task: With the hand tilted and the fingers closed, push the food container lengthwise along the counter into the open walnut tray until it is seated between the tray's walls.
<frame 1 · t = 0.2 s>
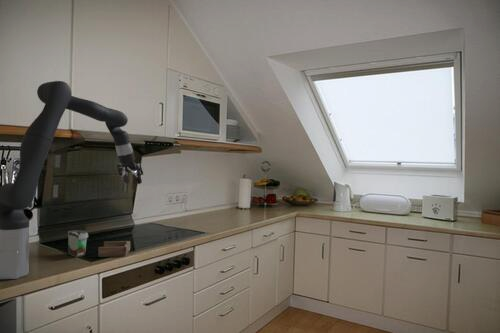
hand: (133, 183, 175), 31 cm above the worktop, tool tilted 20°, fingers open, 8 cm apart
food container: (80, 254, 155), on the worktop
walnut tray: (115, 252, 158), on the worktop
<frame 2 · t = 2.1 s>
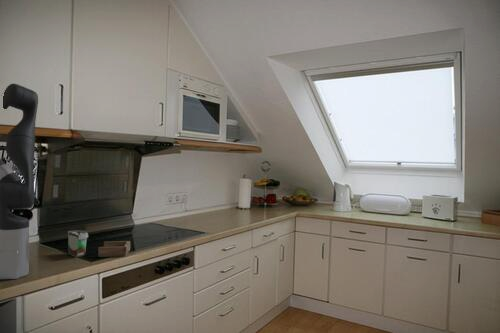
hand: (33, 205, 150), 22 cm above the worktop, tool tilted 45°, fingers open, 8 cm apart
nothing on the worktop moved.
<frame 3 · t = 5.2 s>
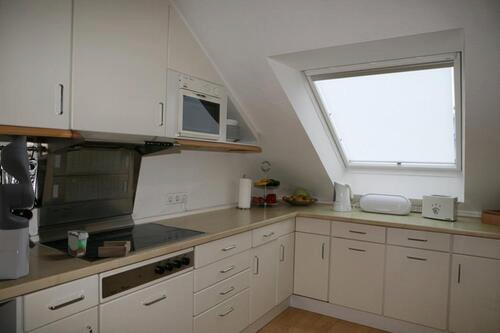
hand: (34, 246, 152), 4 cm above the worktop, tool tilted 45°, fingers closed
nothing on the worktop moved.
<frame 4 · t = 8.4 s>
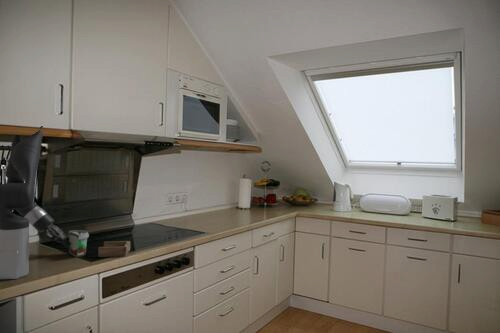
hand: (69, 246, 155), 4 cm above the worktop, tool tilted 45°, fingers closed
food container: (80, 254, 155), on the worktop, touching gripper
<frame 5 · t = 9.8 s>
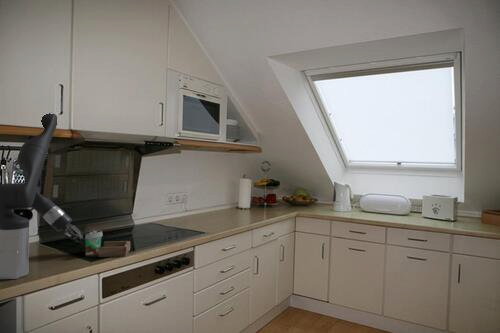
hand: (86, 245, 156), 4 cm above the worktop, tool tilted 45°, fingers closed
food container: (95, 253, 157), on the worktop, touching gripper
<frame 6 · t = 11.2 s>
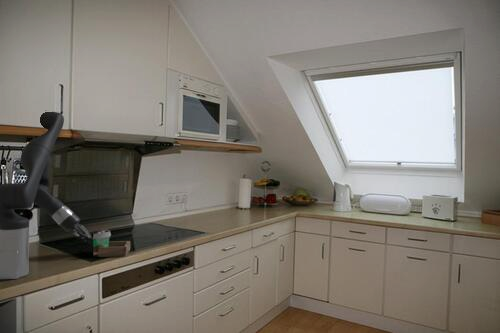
hand: (95, 245, 157), 4 cm above the worktop, tool tilted 45°, fingers closed
food container: (103, 253, 157), resting in walnut tray, touching gripper
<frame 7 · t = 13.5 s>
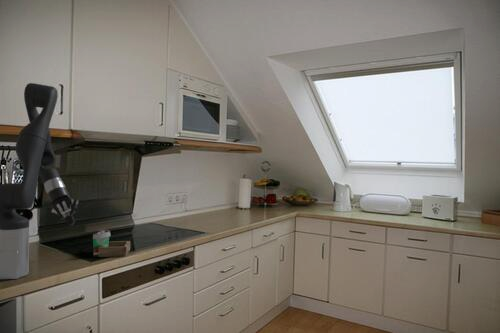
hand: (72, 224, 150), 14 cm above the worktop, tool tilted 35°, fingers closed
food container: (103, 253, 157), resting in walnut tray
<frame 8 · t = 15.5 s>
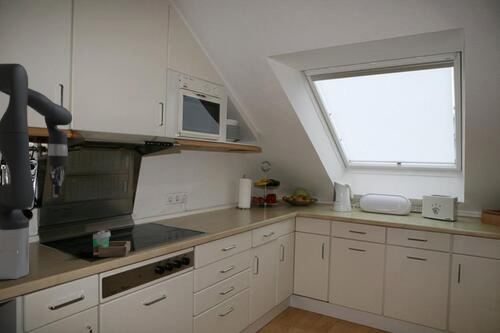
hand: (57, 194, 152), 27 cm above the worktop, tool pointing down, fingers closed
nothing on the worktop moved.
at the end: food container inside the target area on the walnut tray (2.8 cm from its centre), point 0.0 cm above the walnut tray's base; food container tilted 0° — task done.
